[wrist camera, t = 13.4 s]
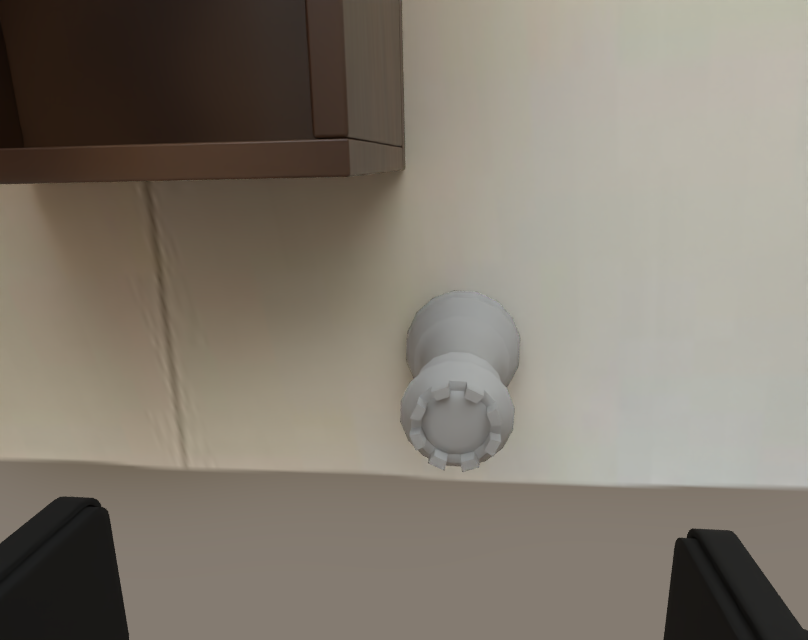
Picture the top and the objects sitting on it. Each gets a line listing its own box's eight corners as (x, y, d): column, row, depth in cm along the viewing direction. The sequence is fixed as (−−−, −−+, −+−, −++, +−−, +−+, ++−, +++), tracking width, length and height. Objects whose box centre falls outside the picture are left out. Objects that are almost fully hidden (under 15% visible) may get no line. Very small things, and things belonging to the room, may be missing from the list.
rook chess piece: (526, 387, 24) (548, 496, 16) (417, 399, 24) (389, 509, 17) (512, 279, 22) (529, 340, 15) (398, 296, 23) (359, 362, 16)
